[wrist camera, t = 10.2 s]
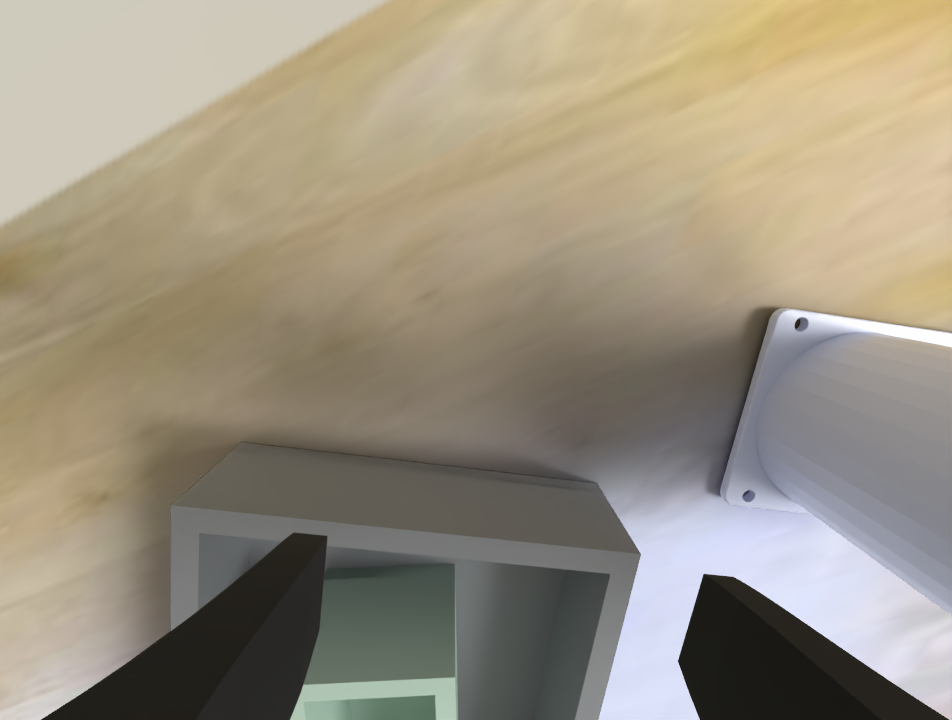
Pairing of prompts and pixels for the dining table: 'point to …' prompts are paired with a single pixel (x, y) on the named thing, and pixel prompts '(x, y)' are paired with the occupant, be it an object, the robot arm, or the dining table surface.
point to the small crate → (384, 646)
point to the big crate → (435, 560)
